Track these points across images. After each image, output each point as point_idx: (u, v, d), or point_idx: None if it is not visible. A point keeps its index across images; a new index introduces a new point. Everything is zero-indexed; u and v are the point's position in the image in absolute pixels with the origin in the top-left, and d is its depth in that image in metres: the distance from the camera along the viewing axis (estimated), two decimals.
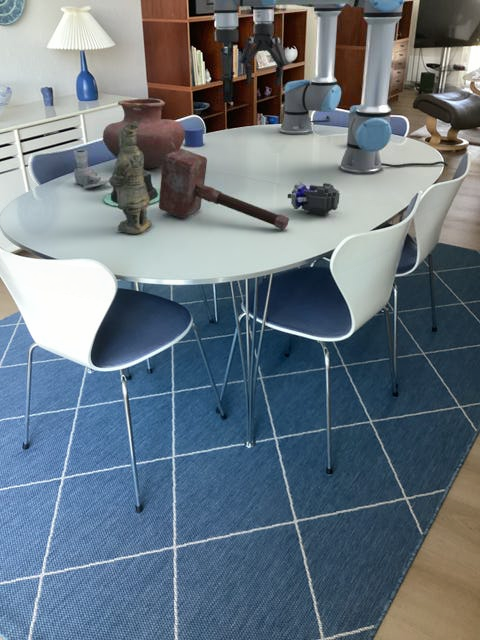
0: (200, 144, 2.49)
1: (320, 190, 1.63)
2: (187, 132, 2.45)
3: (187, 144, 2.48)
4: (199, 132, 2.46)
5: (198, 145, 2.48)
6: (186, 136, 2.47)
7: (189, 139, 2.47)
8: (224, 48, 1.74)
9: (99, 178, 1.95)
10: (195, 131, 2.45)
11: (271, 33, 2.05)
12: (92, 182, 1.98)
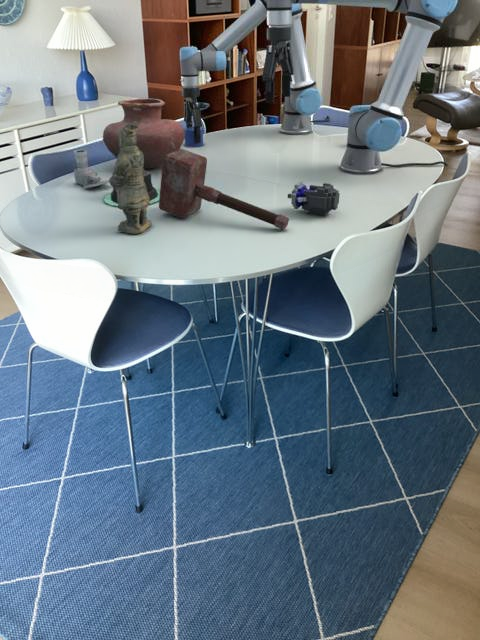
0: (200, 144, 2.49)
1: (320, 190, 1.63)
2: (187, 132, 2.45)
3: (187, 144, 2.48)
4: None
5: (198, 145, 2.48)
6: (186, 136, 2.47)
7: (189, 139, 2.47)
8: (269, 47, 1.68)
9: (99, 178, 1.95)
10: None
11: (193, 96, 2.38)
12: (92, 182, 1.98)
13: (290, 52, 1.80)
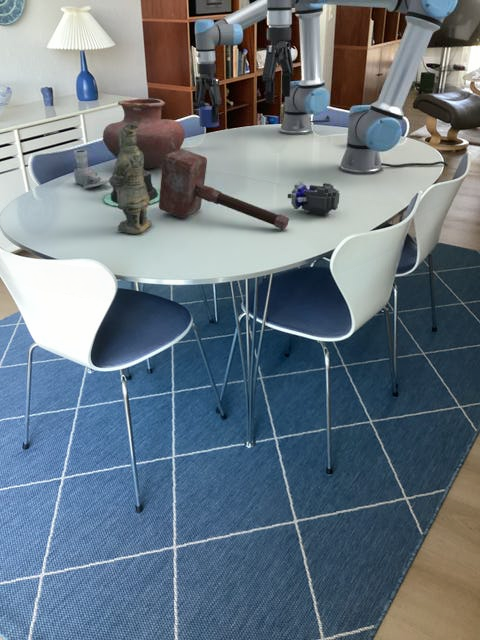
0: (217, 124, 2.36)
1: (320, 190, 1.63)
2: (204, 111, 2.32)
3: (204, 124, 2.35)
4: None
5: (215, 125, 2.35)
6: (203, 116, 2.33)
7: (206, 119, 2.33)
8: (269, 47, 1.68)
9: (99, 178, 1.95)
10: None
11: (211, 72, 2.25)
12: (92, 182, 1.98)
13: (290, 52, 1.80)
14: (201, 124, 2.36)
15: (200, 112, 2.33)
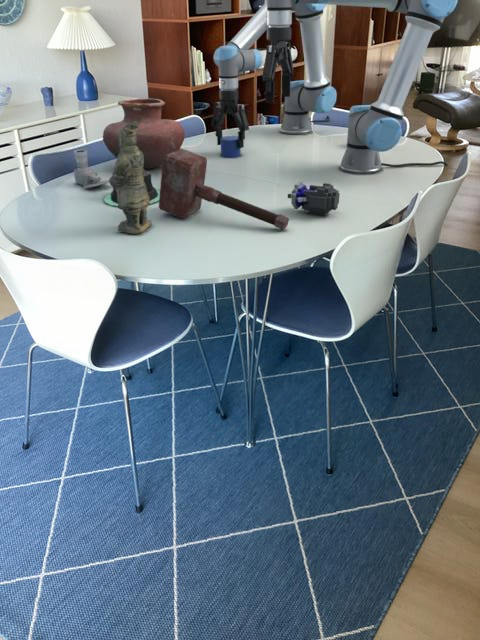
0: (240, 153, 2.33)
1: (320, 190, 1.63)
2: (229, 142, 2.27)
3: (228, 155, 2.30)
4: None
5: (239, 155, 2.32)
6: (227, 147, 2.28)
7: (231, 150, 2.29)
8: (269, 47, 1.68)
9: (99, 178, 1.95)
10: (237, 140, 2.28)
11: (236, 99, 2.20)
12: (92, 182, 1.98)
13: (290, 52, 1.80)
14: (225, 155, 2.30)
15: (224, 143, 2.28)
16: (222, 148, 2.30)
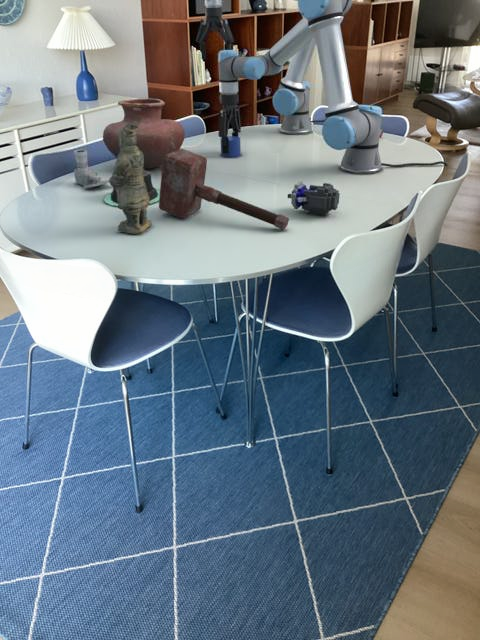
0: (240, 153, 2.33)
1: (320, 190, 1.63)
2: (229, 142, 2.27)
3: (228, 155, 2.30)
4: (239, 141, 2.30)
5: (239, 155, 2.32)
6: None
7: (231, 150, 2.29)
8: (220, 112, 2.19)
9: (99, 178, 1.95)
10: (237, 140, 2.28)
11: (220, 15, 2.45)
12: (92, 182, 1.98)
13: (239, 113, 2.30)
14: (225, 155, 2.30)
15: None
16: None
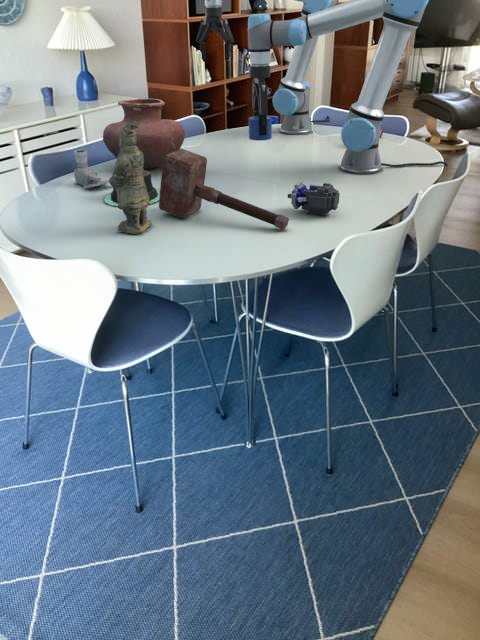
0: None
1: (320, 190, 1.63)
2: None
3: (265, 137, 2.01)
4: None
5: None
6: None
7: (268, 130, 2.00)
8: (262, 87, 1.89)
9: (99, 178, 1.95)
10: (271, 118, 2.00)
11: (220, 15, 2.45)
12: (92, 182, 1.98)
13: None
14: (261, 137, 2.00)
15: None
16: (256, 130, 1.99)
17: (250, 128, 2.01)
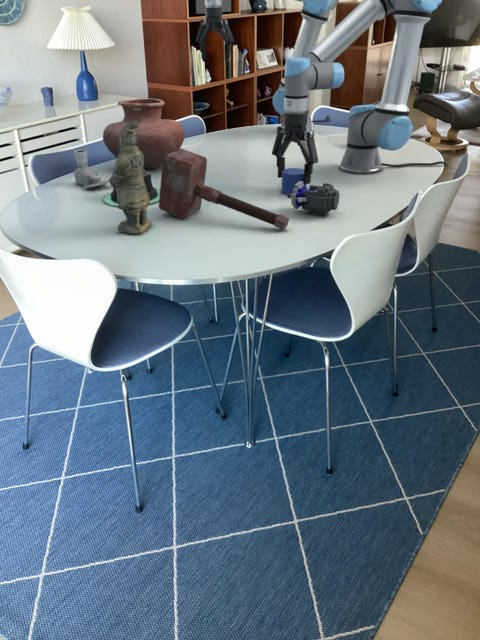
0: None
1: (320, 190, 1.63)
2: None
3: None
4: None
5: None
6: None
7: None
8: (311, 133, 1.74)
9: (99, 178, 1.95)
10: None
11: (220, 15, 2.45)
12: (92, 182, 1.98)
13: None
14: None
15: (301, 178, 1.83)
16: None
17: (289, 184, 1.84)
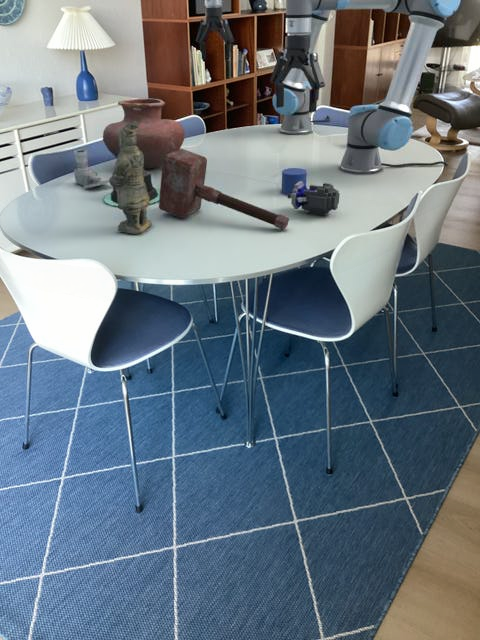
0: None
1: (320, 190, 1.63)
2: (305, 175, 1.84)
3: None
4: None
5: None
6: (304, 181, 1.85)
7: None
8: (314, 54, 1.63)
9: (99, 178, 1.95)
10: None
11: (220, 15, 2.45)
12: (92, 182, 1.98)
13: None
14: None
15: (301, 178, 1.83)
16: None
17: (289, 184, 1.84)
